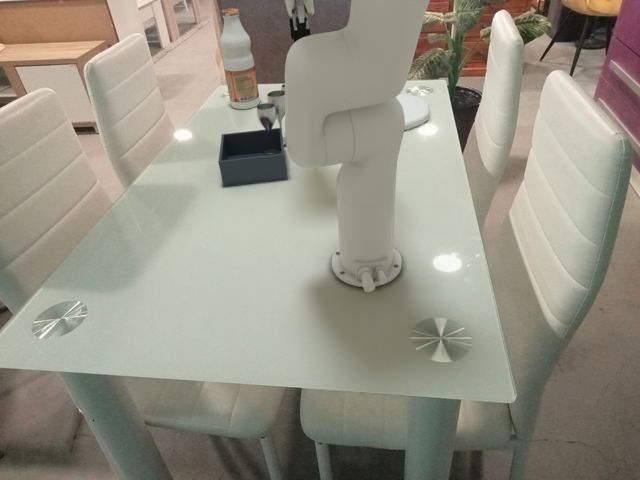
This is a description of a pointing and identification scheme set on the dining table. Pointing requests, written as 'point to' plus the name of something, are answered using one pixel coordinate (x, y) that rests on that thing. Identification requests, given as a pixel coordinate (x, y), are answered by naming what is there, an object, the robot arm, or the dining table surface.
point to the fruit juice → (238, 62)
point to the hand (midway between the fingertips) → (301, 44)
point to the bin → (252, 157)
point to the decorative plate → (413, 110)
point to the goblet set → (272, 112)
